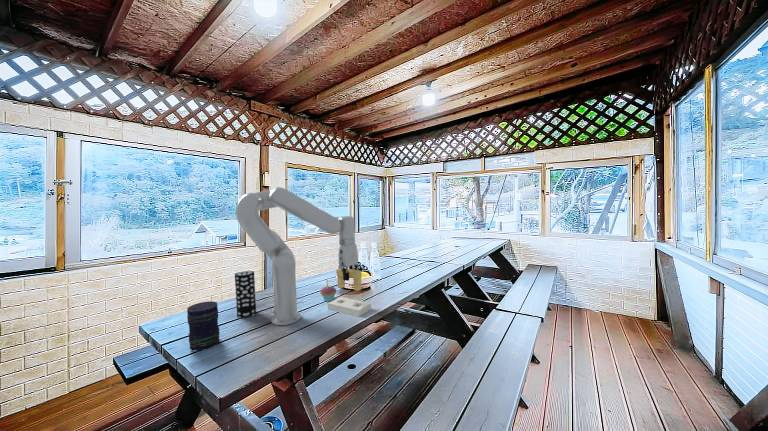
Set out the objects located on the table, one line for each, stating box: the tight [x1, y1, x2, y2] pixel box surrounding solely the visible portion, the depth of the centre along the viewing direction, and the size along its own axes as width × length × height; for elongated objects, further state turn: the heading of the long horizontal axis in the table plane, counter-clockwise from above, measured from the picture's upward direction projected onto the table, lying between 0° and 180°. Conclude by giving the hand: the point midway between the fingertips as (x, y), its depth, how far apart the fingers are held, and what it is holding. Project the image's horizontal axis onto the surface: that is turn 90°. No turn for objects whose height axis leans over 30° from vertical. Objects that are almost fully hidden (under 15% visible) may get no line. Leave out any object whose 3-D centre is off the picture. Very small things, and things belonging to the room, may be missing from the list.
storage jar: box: [186, 301, 221, 351], centre depth 108 cm, size 10×10×15 cm
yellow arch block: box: [335, 268, 363, 292], centre depth 138 cm, size 13×3×9 cm, turn 59°
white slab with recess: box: [327, 296, 372, 317], centre depth 139 cm, size 19×10×3 cm, turn 59°
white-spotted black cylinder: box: [234, 270, 257, 319], centre depth 135 cm, size 8×8×20 cm
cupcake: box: [320, 279, 337, 302], centre depth 152 cm, size 9×8×12 cm
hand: (348, 278), depth 138 cm, fingers closed on yellow arch block, 3 cm apart
